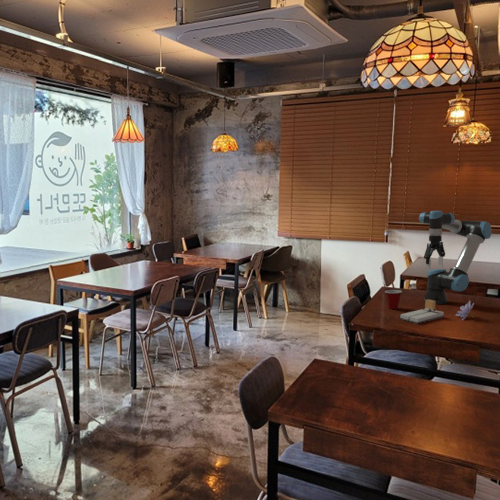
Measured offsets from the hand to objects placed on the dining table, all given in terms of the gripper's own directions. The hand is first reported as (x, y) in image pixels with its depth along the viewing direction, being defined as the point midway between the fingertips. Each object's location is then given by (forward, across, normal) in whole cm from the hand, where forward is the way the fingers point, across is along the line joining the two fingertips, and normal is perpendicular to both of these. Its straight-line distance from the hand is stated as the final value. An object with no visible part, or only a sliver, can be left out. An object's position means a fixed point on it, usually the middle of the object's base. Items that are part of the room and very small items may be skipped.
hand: (434, 267), depth 294 cm
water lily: (+28, -1, -22) cm, 36 cm away
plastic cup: (+28, -18, +18) cm, 38 cm away
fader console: (+27, -24, -8) cm, 37 cm away
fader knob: (+26, -16, -8) cm, 32 cm away
